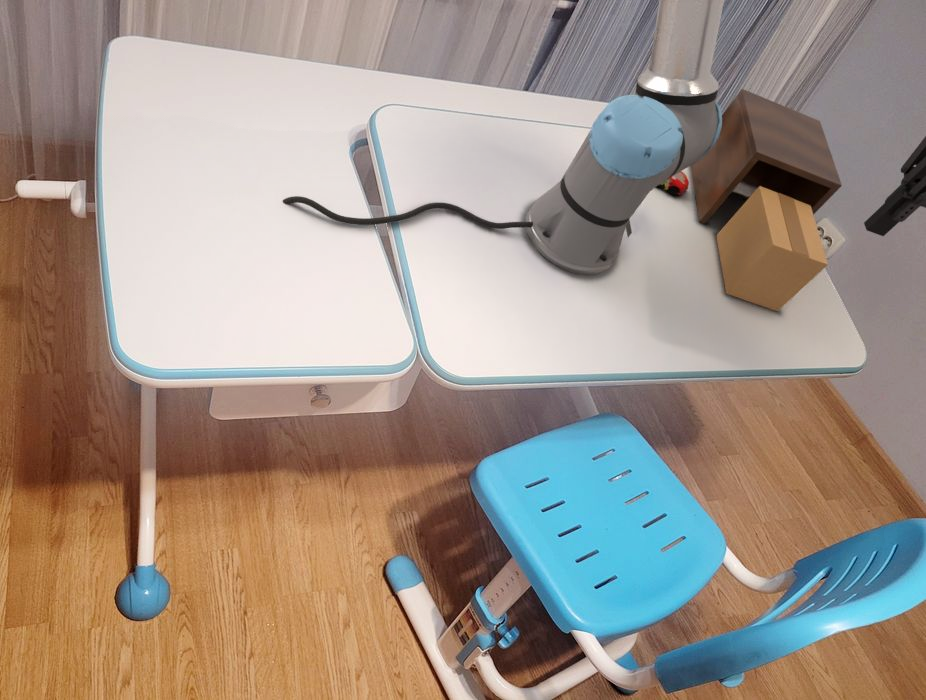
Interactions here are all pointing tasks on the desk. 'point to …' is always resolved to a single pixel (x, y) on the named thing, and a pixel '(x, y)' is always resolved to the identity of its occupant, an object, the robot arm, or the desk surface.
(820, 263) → the box
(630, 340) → the desk surface
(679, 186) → the race car
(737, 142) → the cabinet
